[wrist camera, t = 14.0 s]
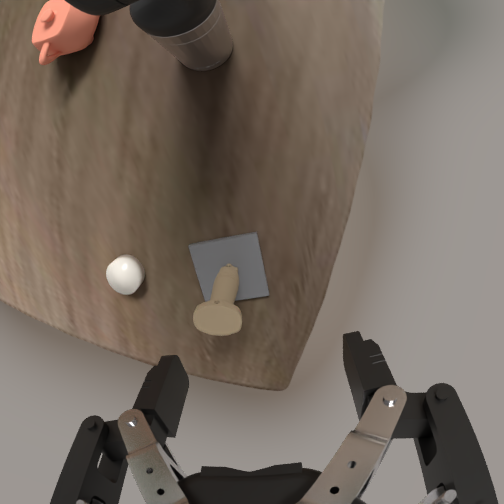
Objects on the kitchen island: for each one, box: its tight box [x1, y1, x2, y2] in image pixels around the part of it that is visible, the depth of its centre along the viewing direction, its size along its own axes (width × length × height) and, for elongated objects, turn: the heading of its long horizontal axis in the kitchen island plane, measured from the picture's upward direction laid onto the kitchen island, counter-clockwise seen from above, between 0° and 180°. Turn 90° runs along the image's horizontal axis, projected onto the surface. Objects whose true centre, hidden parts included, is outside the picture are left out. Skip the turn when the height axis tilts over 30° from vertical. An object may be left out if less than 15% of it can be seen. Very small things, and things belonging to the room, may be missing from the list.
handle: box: [193, 264, 242, 336], centre depth 43 cm, size 5×6×15 cm
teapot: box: [32, 0, 101, 65], centre depth 28 cm, size 20×12×12 cm, turn 171°
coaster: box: [189, 232, 269, 302], centre depth 51 cm, size 12×12×1 cm
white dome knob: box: [106, 254, 145, 295], centre depth 51 cm, size 7×7×4 cm
